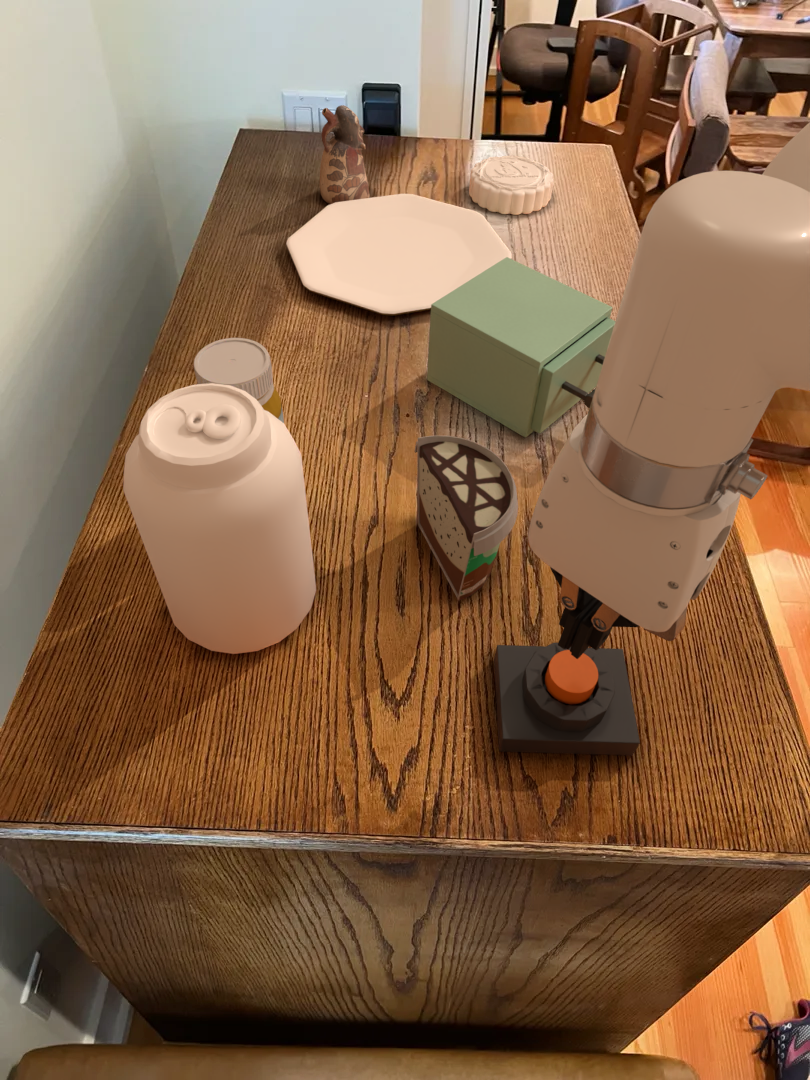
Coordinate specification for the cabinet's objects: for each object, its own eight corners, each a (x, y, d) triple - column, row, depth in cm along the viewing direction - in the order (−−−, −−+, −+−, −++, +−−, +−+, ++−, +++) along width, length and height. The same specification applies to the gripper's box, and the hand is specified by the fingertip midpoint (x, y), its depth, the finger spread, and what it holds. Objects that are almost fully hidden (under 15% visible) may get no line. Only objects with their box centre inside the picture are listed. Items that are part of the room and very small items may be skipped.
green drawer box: (593, 382, 85) (613, 306, 78) (525, 438, 79) (540, 362, 72) (496, 331, 91) (506, 256, 84) (426, 379, 85) (430, 304, 77)
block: (616, 662, 62) (628, 636, 59) (632, 756, 57) (647, 732, 54) (493, 658, 62) (499, 632, 59) (499, 751, 57) (505, 727, 54)
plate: (534, 237, 105) (536, 226, 104) (448, 344, 89) (449, 333, 88) (358, 189, 112) (358, 178, 111) (250, 280, 97) (249, 269, 95)
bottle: (211, 471, 75) (180, 343, 64) (281, 454, 77) (263, 327, 65) (227, 522, 71) (197, 395, 59) (300, 503, 73) (285, 377, 61)
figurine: (373, 204, 110) (373, 115, 100) (324, 209, 108) (319, 119, 99) (364, 181, 114) (362, 94, 105) (316, 185, 113) (310, 97, 103)
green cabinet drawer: (633, 399, 82) (653, 338, 76) (573, 453, 77) (589, 392, 71) (509, 334, 89) (519, 274, 83) (446, 380, 84) (451, 318, 78)
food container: (530, 593, 67) (549, 517, 59) (465, 614, 65) (477, 539, 57) (470, 495, 74) (481, 417, 66) (411, 512, 72) (415, 433, 65)
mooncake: (542, 175, 116) (545, 151, 114) (557, 215, 109) (562, 190, 106) (463, 176, 116) (465, 152, 113) (474, 216, 108) (476, 191, 105)
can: (321, 539, 70) (304, 361, 54) (311, 659, 62) (288, 489, 47) (183, 538, 70) (127, 357, 54) (155, 657, 62) (80, 486, 46)
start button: (589, 662, 58) (594, 650, 57) (596, 705, 56) (601, 693, 55) (542, 660, 58) (546, 648, 57) (547, 703, 56) (551, 692, 55)
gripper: (833, 478, 37) (704, 670, 51) (577, 344, 43) (524, 549, 57) (765, 567, 33) (646, 747, 48) (495, 406, 39) (460, 609, 54)
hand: (579, 639), depth 52 cm, fingers closed
